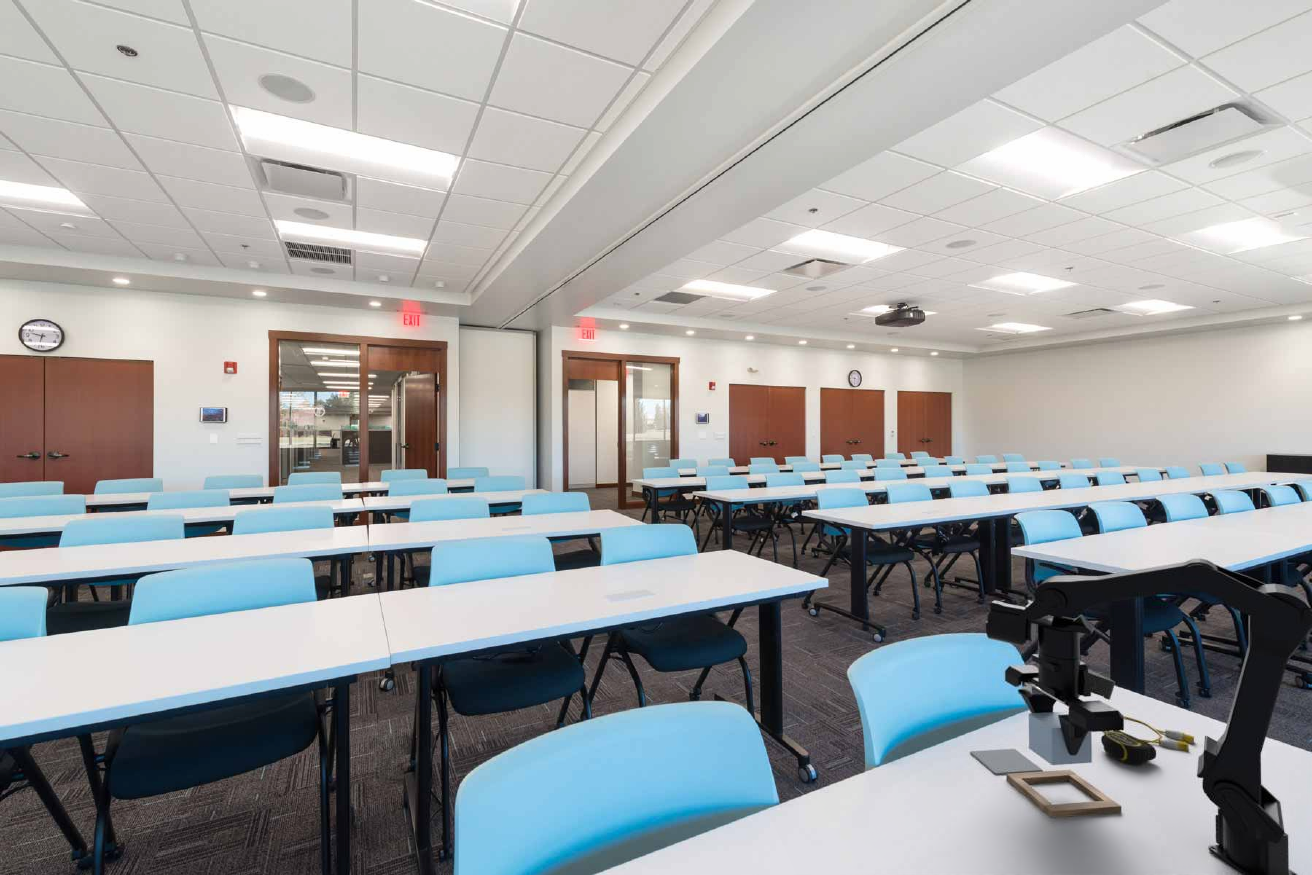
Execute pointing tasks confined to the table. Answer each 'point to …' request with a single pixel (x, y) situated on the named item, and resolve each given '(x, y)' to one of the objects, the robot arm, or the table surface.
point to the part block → (1055, 740)
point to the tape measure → (1127, 747)
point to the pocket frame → (1068, 809)
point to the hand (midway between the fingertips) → (1059, 745)
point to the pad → (1005, 761)
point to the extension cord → (1170, 743)
